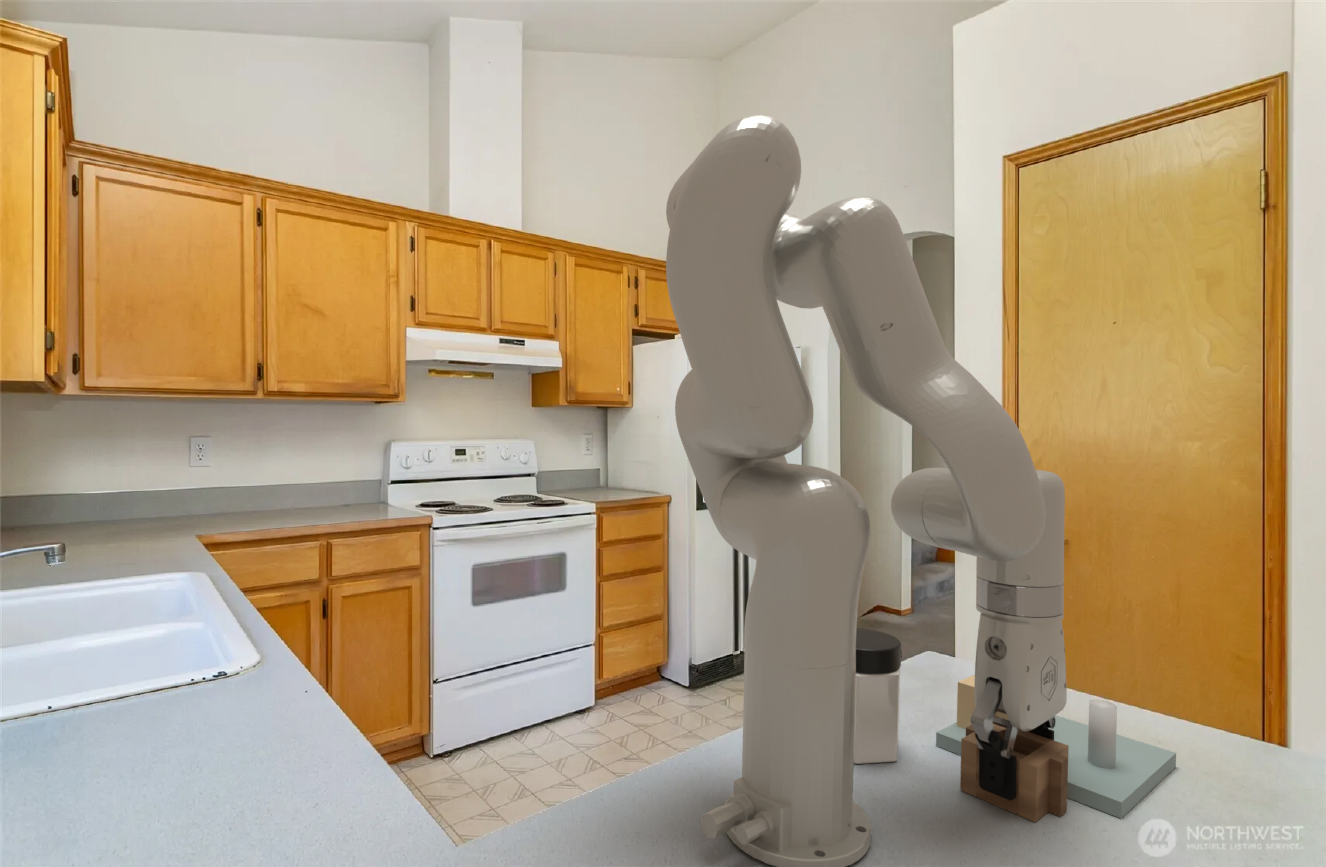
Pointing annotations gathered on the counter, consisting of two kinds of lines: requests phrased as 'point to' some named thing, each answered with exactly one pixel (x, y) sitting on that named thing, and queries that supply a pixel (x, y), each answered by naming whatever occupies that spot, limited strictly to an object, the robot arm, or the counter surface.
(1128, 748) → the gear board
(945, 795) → the counter surface
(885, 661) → the jar
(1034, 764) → the ribbed wooden holder
